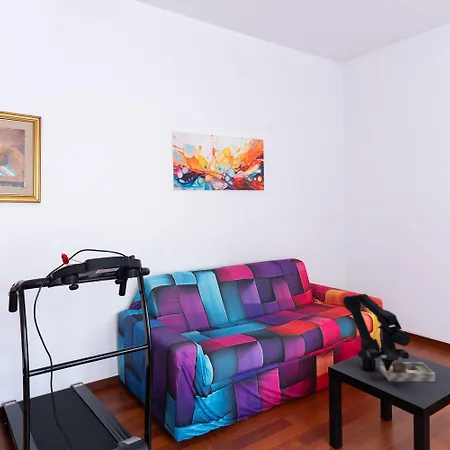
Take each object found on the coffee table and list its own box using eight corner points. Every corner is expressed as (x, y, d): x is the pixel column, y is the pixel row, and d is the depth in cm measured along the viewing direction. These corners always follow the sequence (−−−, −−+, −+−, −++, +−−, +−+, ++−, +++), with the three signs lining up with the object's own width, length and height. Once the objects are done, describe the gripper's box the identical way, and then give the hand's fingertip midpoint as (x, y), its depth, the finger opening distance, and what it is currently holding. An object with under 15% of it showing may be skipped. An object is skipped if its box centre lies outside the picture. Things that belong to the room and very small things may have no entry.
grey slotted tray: (388, 381, 192) (389, 373, 192) (378, 369, 205) (378, 362, 205) (434, 381, 192) (435, 373, 191) (421, 370, 205) (422, 362, 204)
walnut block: (396, 374, 193) (396, 365, 193) (392, 370, 198) (392, 362, 197) (405, 374, 193) (406, 365, 193) (401, 370, 198) (402, 362, 197)
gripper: (374, 345, 187) (373, 378, 188) (414, 345, 186) (413, 378, 187) (366, 337, 198) (365, 368, 199) (404, 337, 197) (403, 368, 198)
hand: (387, 370), depth 195 cm, fingers closed
